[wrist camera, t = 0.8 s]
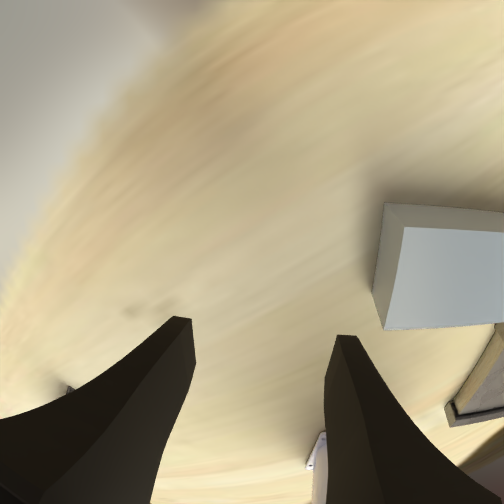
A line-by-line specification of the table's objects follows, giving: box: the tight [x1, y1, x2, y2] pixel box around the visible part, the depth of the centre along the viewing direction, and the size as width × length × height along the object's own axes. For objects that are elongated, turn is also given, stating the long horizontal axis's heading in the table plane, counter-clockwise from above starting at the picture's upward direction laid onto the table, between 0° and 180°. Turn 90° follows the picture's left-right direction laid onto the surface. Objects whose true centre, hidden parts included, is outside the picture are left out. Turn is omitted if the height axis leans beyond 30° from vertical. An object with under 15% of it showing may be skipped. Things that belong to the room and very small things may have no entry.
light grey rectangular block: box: [372, 203, 504, 330], centre depth 15 cm, size 6×10×4 cm, turn 93°
